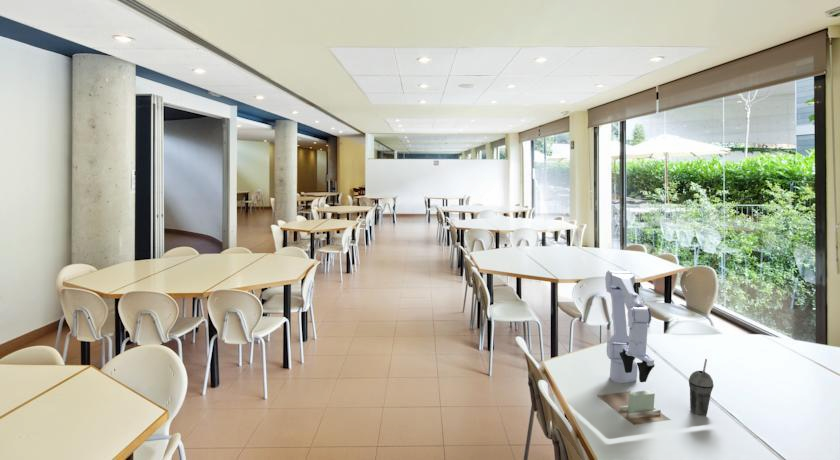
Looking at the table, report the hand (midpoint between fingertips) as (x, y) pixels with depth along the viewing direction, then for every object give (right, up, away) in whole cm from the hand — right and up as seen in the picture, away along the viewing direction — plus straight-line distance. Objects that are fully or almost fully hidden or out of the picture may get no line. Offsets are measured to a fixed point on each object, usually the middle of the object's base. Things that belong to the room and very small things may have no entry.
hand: (635, 376), depth 162 cm
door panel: (-2, -10, -7) cm, 12 cm away
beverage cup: (+18, -11, -7) cm, 22 cm away
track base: (-3, -10, -3) cm, 11 cm away
